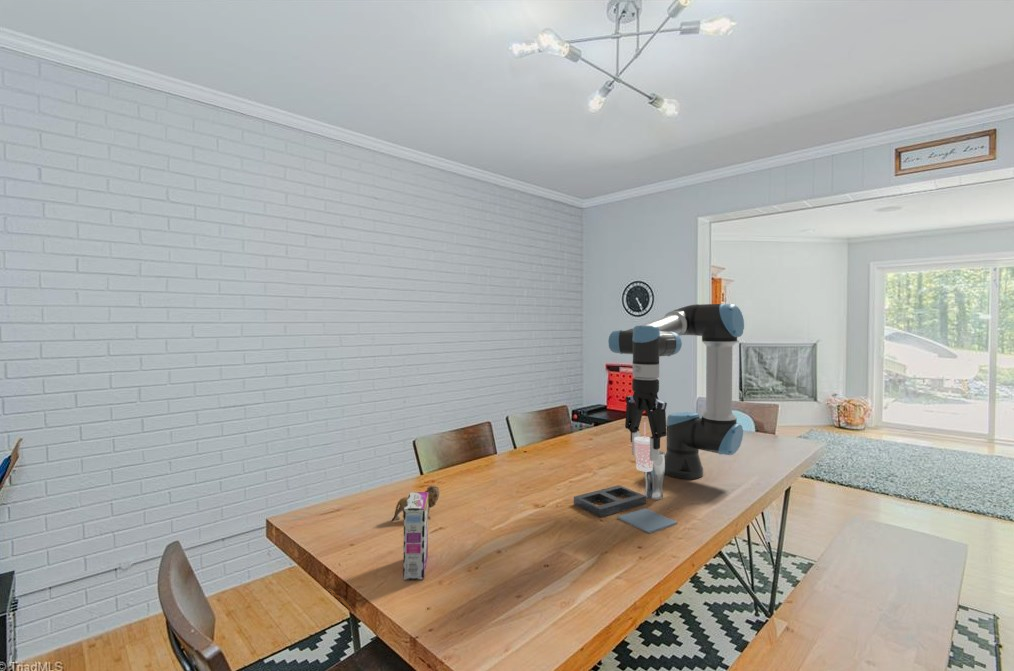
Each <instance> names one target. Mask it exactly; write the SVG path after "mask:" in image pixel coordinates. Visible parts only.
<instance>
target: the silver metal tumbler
mask: <svg viewBox="0 0 1014 671" xmlns="http://www.w3.org/2000/svg"><path fill="white" fill-rule="evenodd" d="M665 454H666V452H664V451H663V450H660V449H658V460H653V470H652V471H650V472H643V475H644V476H643V477H644V482H645V489H644V493H643V495H645V496H646V499H649V500H652V501H653V500H654V501H660V500H663V499H664V491H663V482H664V479H665V478H664V477H665V474H664V472H665Z"/></svg>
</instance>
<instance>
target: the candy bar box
mask: <svg viewBox="0 0 1014 671" xmlns="http://www.w3.org/2000/svg"><path fill="white" fill-rule="evenodd" d="M407 497H408V499H407V502H406V505H405V507H404V518H403V564H402V565H403V569H402V570H403V571H402V573H403V575H402V576H403V577H402V580H403V581H421V580H425V574H426V569H427V563H428V556H429V555H428V554H429V550H428V549H429V547H428V546H429V519H428V492H425V491H423V492H421V491H419V492H409V494H408V496H407Z"/></svg>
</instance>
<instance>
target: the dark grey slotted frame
mask: <svg viewBox="0 0 1014 671" xmlns="http://www.w3.org/2000/svg"><path fill="white" fill-rule="evenodd" d="M620 496H622V497H624V498H619V497H620ZM596 502H600V503H603V504H601V505H596V504H594V503H596ZM573 505H575V506H576V507H578V508H580V509H582V510H583V511H586V512H588V513H590V514H592V515H594V516H596V517H598V518H604V517H606V516H607V517H608V516H611V515H614V514H617V513H620V512H624V511H626V510H630V509H634V508H637V507H640V506H644V505H647V498H646V496H645V495H644V494H643V493H639V492H638V491H634V490H633V489H630V488H627V487H625V486H622V485H619V484H618V485H615V486H610V487H606V488H602V489H599V490H598V489H597V490H595V491H591V492H587V493H583V494H579V495H575V496H573Z"/></svg>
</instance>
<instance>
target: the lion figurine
mask: <svg viewBox="0 0 1014 671" xmlns="http://www.w3.org/2000/svg"><path fill="white" fill-rule="evenodd" d="M424 492H428V520H430V519H431V516H429V514H430V508H434V506H436V503H437V501H438V500H439V497H440V490H439V486H437V485H430V486H428V487H427V488H426V490H425V491H424ZM407 499H408V496H404V497H402V498H400V499H399V500H398V501H397V504H396V507H395V511H394V515H393V517H392V519H391V520H390V522H394V521H395V520H400V519H401V517H400V516H399V515H400V513H403V514H402V519H404V507H405V505H406V502H407Z"/></svg>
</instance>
